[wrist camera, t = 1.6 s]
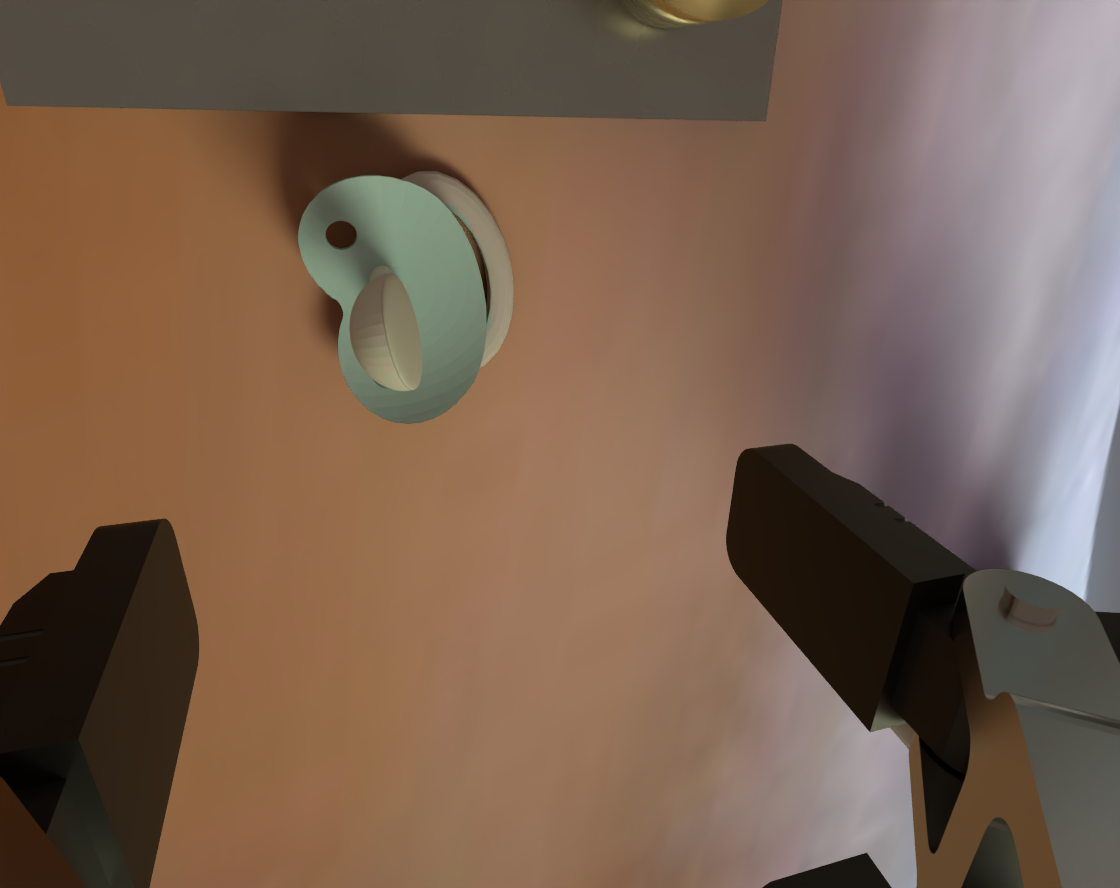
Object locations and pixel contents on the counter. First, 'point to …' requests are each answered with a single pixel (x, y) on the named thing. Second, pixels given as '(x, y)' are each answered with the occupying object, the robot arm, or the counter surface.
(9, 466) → the counter surface
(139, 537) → the robot arm
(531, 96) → the grey ring holder
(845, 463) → the counter surface
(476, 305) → the pacifier
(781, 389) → the counter surface
